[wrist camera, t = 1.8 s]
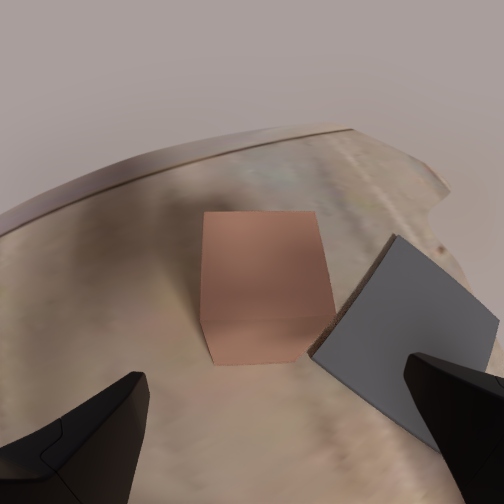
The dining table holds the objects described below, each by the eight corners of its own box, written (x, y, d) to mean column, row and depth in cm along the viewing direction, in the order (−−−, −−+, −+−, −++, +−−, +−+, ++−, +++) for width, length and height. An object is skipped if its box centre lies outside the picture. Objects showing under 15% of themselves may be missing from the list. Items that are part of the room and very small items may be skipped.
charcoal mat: (496, 322, 23) (499, 320, 22) (444, 456, 16) (447, 456, 15) (396, 237, 28) (398, 234, 28) (310, 358, 21) (312, 356, 21)
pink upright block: (294, 361, 21) (336, 314, 13) (214, 365, 20) (199, 320, 12) (287, 291, 24) (314, 211, 16) (214, 293, 24) (204, 211, 15)
